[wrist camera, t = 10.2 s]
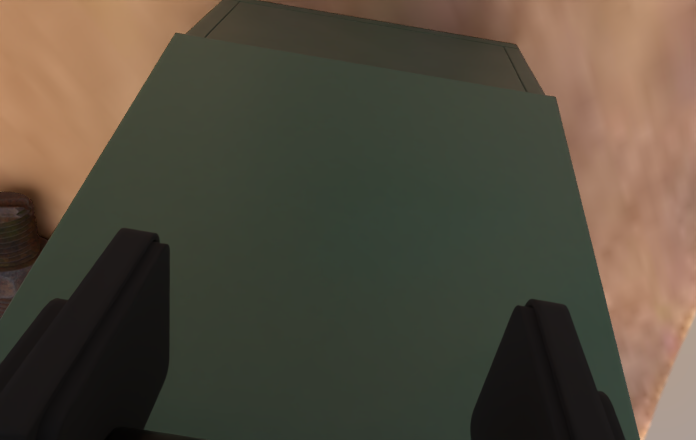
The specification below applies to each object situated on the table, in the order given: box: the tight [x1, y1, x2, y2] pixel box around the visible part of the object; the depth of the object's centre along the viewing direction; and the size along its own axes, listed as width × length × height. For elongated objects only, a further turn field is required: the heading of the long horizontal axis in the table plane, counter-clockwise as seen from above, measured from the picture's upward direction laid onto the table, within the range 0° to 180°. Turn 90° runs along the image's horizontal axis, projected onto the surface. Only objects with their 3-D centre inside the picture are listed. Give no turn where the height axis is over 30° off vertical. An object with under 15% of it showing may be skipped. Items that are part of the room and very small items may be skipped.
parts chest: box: [186, 0, 545, 95], centre depth 32 cm, size 19×15×8 cm
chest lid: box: [0, 33, 640, 440], centre depth 15 cm, size 20×15×5 cm
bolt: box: [0, 192, 48, 319], centre depth 39 cm, size 6×5×15 cm
